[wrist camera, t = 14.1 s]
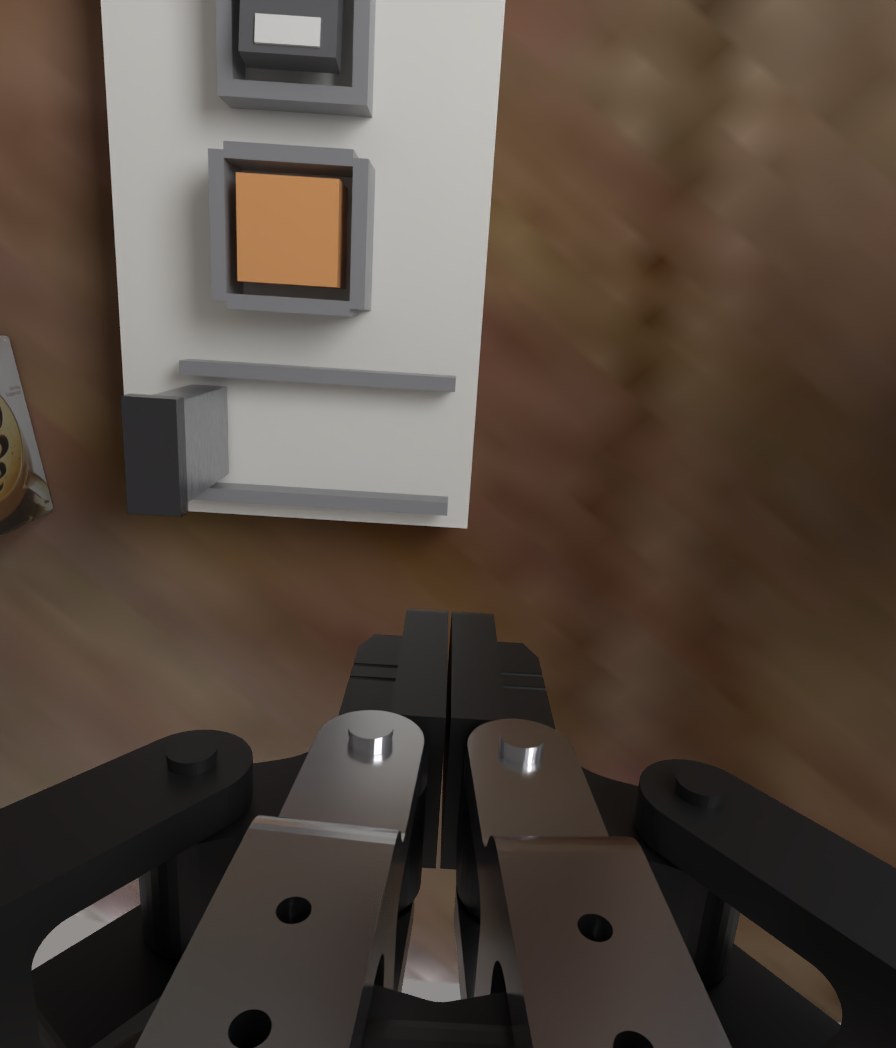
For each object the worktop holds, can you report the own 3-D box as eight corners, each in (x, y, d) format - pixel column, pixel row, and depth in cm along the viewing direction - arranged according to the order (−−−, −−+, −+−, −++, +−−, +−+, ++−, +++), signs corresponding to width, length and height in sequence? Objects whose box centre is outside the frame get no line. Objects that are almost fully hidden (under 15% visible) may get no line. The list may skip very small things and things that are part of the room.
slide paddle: (231, 382, 33) (175, 399, 26) (233, 477, 34) (180, 516, 28) (186, 379, 33) (120, 395, 26) (190, 475, 34) (127, 513, 28)
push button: (347, 188, 31) (339, 179, 28) (345, 289, 32) (337, 287, 30) (252, 182, 31) (235, 172, 28) (253, 283, 32) (237, 280, 29)
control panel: (507, -60, 31) (517, -137, 26) (466, 511, 38) (468, 544, 33) (127, -86, 31) (58, -168, 26) (155, 492, 38) (106, 521, 32)
